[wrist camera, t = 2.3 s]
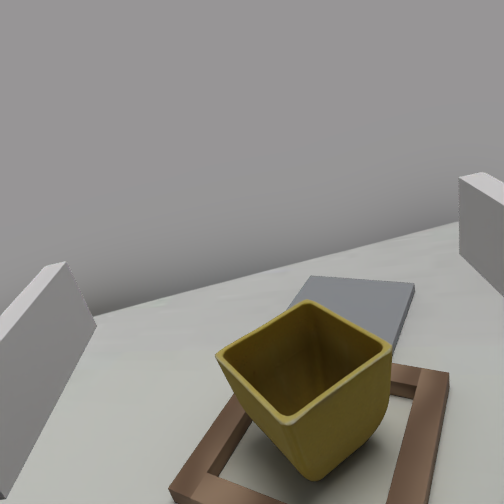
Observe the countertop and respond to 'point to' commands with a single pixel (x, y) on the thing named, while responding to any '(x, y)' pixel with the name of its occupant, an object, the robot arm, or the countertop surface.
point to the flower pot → (311, 384)
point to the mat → (362, 302)
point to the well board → (245, 500)
